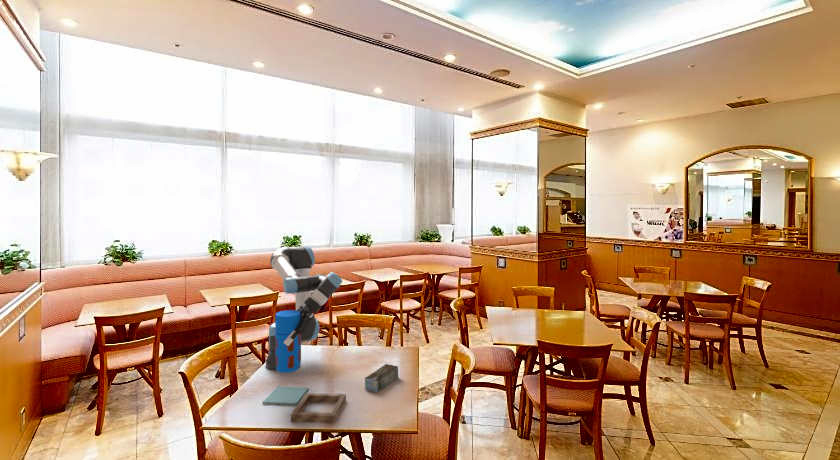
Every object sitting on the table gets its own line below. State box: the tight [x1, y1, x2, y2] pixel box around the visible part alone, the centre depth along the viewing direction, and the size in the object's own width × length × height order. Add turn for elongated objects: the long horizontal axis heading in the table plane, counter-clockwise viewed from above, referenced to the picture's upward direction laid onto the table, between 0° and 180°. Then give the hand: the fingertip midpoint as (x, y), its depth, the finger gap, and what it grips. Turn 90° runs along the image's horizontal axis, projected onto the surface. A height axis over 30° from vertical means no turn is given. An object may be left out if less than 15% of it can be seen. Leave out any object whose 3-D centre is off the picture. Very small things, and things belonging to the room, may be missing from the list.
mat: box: [262, 385, 309, 406], centre depth 173 cm, size 15×15×1 cm
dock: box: [290, 392, 347, 424], centre depth 161 cm, size 18×18×3 cm
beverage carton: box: [364, 363, 399, 393], centre depth 187 cm, size 8×19×7 cm, turn 152°
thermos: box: [274, 309, 302, 374], centre depth 171 cm, size 11×11×25 cm
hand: (281, 340), depth 169 cm, fingers closed on thermos, 11 cm apart
